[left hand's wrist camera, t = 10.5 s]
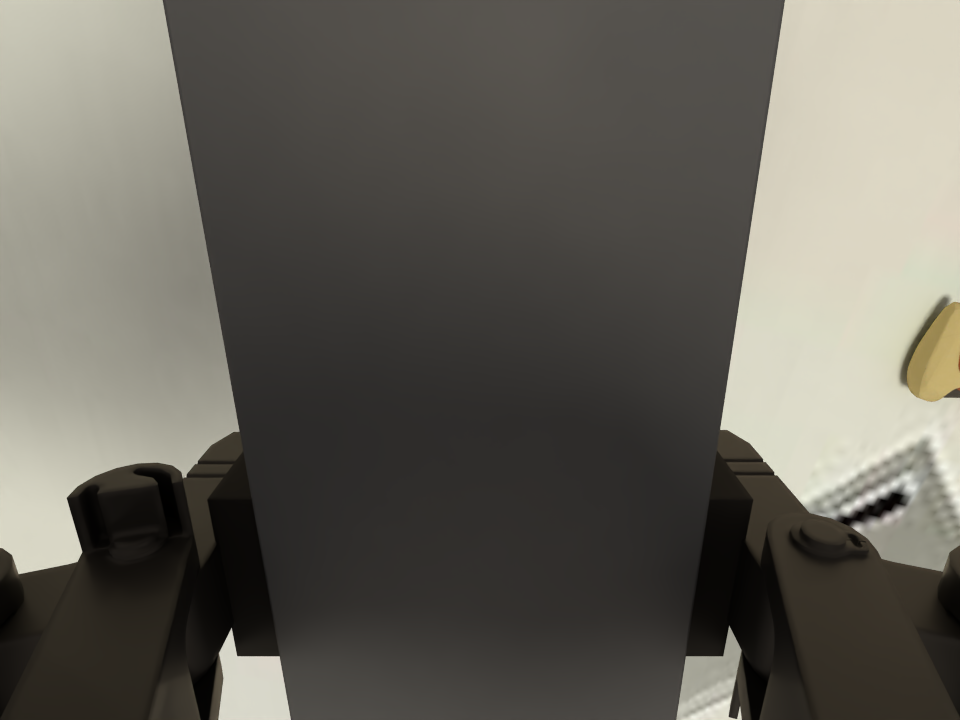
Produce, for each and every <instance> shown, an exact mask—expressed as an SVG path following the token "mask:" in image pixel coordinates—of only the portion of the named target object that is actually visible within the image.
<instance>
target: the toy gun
mask: <svg viewBox="0 0 960 720" xmlns="http://www.w3.org/2000/svg"><path fill="white" fill-rule="evenodd" d="M907 383H908V387H909V390H910V391H911V393H912V394H914V395H915V396H916V397H918V398H921V399H923V400H926V401H931V402H932V401H937V400H940V399H941V398H943V397H950V398H960V303H958V302H953V303H951V304H950V305H948V306H947V307H945V308H944V309H943V310H942V312H941V313H940V314H939V315H938V317H937V318H936V319H935V321H934V322H933V323H932V325H931V326H930V328H929V329H928V331H927V332H926V334H925V335H924V337H923V338H922V340H921V341H920V343H919V344H918V346H917V348H916V350H915V352H914V354H913V356H912V359H911V361H910V364H909V367H908V370H907Z"/></svg>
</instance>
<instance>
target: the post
mask: <svg viewBox="0 0 960 720" xmlns="http://www.w3.org/2000/svg"><path fill="white" fill-rule="evenodd" d="M784 2H785V0H163V4H164V10H165V15H166V21H167V26H168V32H169V38H170V43H171V49H172V54H173V60H174V66H175V71H176V77H177V83H178V88H179V94H180V99H181V105H182V111H183V116H184V122H185V127H186V133H187V139H188V144H189V150H190V155H191V161H192V167H193V172H194V178H195V183H196V189H197V195H198V200H199V206H200V211H201V217H202V223H203V228H204V234H205V240H206V245H207V251H208V256H209V262H210V268H211V273H212V279H213V284H214V290H215V296H216V301H217V307H218V312H219V318H220V324H221V329H222V335H223V340H224V346H225V352H226V357H227V363H228V369H229V374H230V380H231V385H232V391H233V397H234V402H235V408H236V413H237V419H238V425H239V430H240V436H241V441H242V447H243V453H244V458H245V464H246V469H247V475H248V481H249V486H250V492H251V497H252V503H253V509H254V514H255V520H256V526H257V531H258V537H259V542H260V548H261V554H262V559H263V565H264V570H265V576H266V582H267V587H268V593H269V598H270V604H271V610H272V615H273V621H274V626H275V632H276V638H277V643H278V649H279V655H280V660H281V666H282V671H283V677H284V683H285V688H286V694H287V699H288V705H289V711H290V716H291V720H676V717H677V711H678V704H679V697H680V691H681V684H682V677H683V671H684V664H685V658H686V651H687V644H688V638H689V631H690V624H691V618H692V611H693V605H694V598H695V591H696V585H697V578H698V572H699V565H700V558H701V552H702V545H703V538H704V532H705V525H706V519H707V512H708V505H709V499H710V492H711V485H712V479H713V472H714V466H715V459H716V452H717V446H718V439H719V432H720V426H721V419H722V413H723V406H724V399H725V393H726V386H727V380H728V373H729V366H730V360H731V353H732V346H733V340H734V333H735V327H736V320H737V313H738V307H739V300H740V293H741V287H742V280H743V274H744V267H745V260H746V254H747V247H748V241H749V234H750V227H751V221H752V214H753V207H754V201H755V194H756V188H757V181H758V174H759V168H760V161H761V154H762V148H763V141H764V135H765V128H766V121H767V115H768V108H769V101H770V95H771V88H772V82H773V75H774V68H775V62H776V55H777V49H778V42H779V35H780V29H781V22H782V15H783V9H784Z"/></svg>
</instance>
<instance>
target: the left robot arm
mask: <svg viewBox="0 0 960 720" xmlns="http://www.w3.org/2000/svg"><path fill="white" fill-rule="evenodd" d="M67 500H68V504H69V507H70V511H71V514H72V517H73V521H74V524H75V528H76V531H77V535H78V538H79V541H80V545H81V548H82V554H81V556H80V558H79V560H78V562H76V563H72V564H68V565H63V566H58V567H53V568H48V569H43V570H38V571H33V572H28V573H23V574H18V572H17V569H16V566H15V563H14V560H13V557H12V555H11V554H10V553H8V552H7V551H5V550H4V549H3V548H0V720H218V717H219V709H220V701H221V693H222V685H223V673H222V666H221V661H220V656H219V652H220V650H221V648H222V646H223V644H224V642H225V640H226V638H227V636H228V634H229V632H230V630H231V628H232V631H233V636H234V641H235V647H236V652H237V656H280V655H279V649H278V643H277V638H276V632H275V626H274V621H273V615H272V610H271V604H270V598H269V593H268V587H267V582H266V576H265V570H264V565H263V559H262V554H261V548H260V542H259V537H258V531H257V526H256V520H255V514H254V509H253V503H252V497H251V492H250V486H249V481H248V475H247V469H246V464H245V458H244V453H243V447H242V441H241V436H240V432H233V433H231V434H230V435H228V436H226V437H225V438H223V439H221V440H220V441H218V442H216V443H215V444H213V445H211V446H210V448H209V449H208V450H207V451H206V452H205V454H204V455H203V456H202V457H201V458H200V459H199V461H198V464H195V465H194V466H193V468H192V469H191V470H190V471H189V472H188V473H187V478H182V473H181V472H180V471H179V470H178V469H176V468H175V467H174V466H172V465H166V464H161V463H141V464H134V465H129V466H124V467H120V468H116V469H113V470H110V471H108V472H105V473H102V474H100V475H97V476H95V477H93V478H91V479H90V480H88V481H86V482H85V483H83V484H81V485H80V486H78V487H77V488H76V489H75V490H74V491H73V492H72V493H71V494H70V495H69V496H68V497H67ZM729 626H730V628H731V630H732V632H733V634H734V636H735V638H736V640H737V642H738V644H739V646H740V648H741V649H742V652H741V656H740V661H739V666H738V671H737V676H736V680H735V685H734V690H733V695H732V700H731V705H730V711H729V717H731V718H735V719H737V717H738V712H739V707H741V715H742V720H960V546H958V547H957V548H955V549H954V550H953V551H951V552H950V553H949V556H948V559H947V562H946V565H945V568H944V571H943V572H941V571H936V570H931V569H926V568H921V567H916V566H911V565H906V564H901V563H896V562H891V561H887V560H883V559H881V557H880V555H879V553H878V551H877V550H876V549H875V548H874V546H873V545H872V544H871V543H870V541H869V540H868V539H867V538H866V537H864V536H863V535H861V534H860V533H858V532H857V531H856V530H854V529H853V528H851V527H849V526H847V525H845V524H842V523H840V522H838V521H836V520H833V519H831V518H827V517H823V516H819V515H815V514H811V513H809V512H808V511H807V510H806V509H805V507H804V506H803V505H802V504H801V503H800V502H799V500H798V499H797V498H796V497H795V496H794V495H793V493H792V492H791V491H790V490H789V489H788V488H787V486H786V485H785V484H784V483H783V482H782V481H781V479H780V478H779V477H778V476H775V475H774V471H773V470H772V469H771V468H770V467H769V466H768V464H767V463H766V462H763V459H762V457H761V456H760V455H759V454H758V453H757V452H756V450H755V449H754V448H753V447H752V446H751V445H750V443H748V442H746V441H745V440H743V439H741V438H739V437H738V436H736V435H734V434H733V433H731V432H729V431H728V430H720V432H719V439H718V446H717V452H716V459H715V466H714V472H713V479H712V485H711V492H710V499H709V505H708V512H707V519H706V525H705V532H704V538H703V545H702V552H701V558H700V565H699V572H698V578H697V585H696V591H695V598H694V605H693V611H692V618H691V624H690V631H689V638H688V644H687V651H686V656H723V654H724V649H725V644H726V639H727V634H728V628H729Z"/></svg>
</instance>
